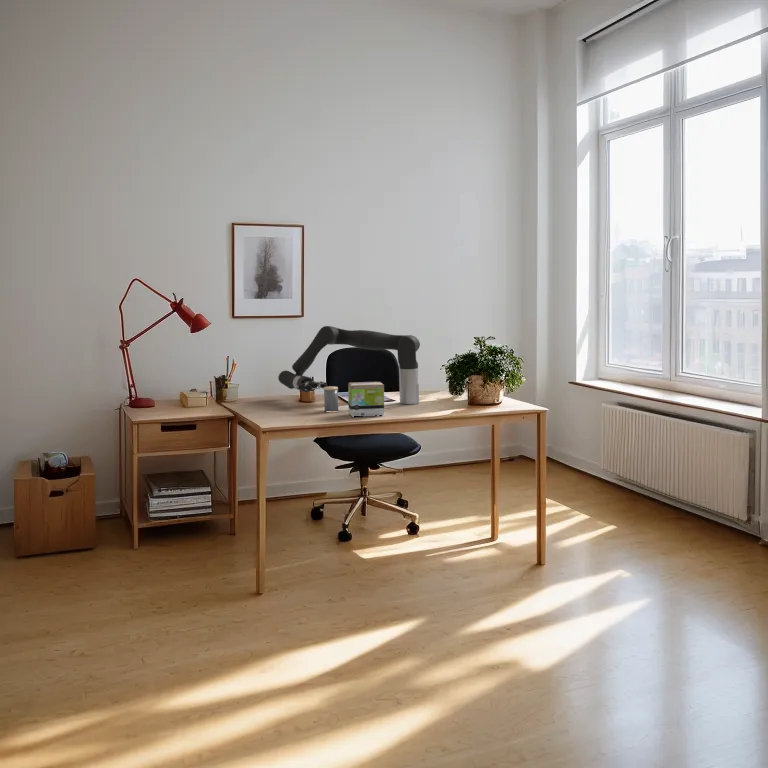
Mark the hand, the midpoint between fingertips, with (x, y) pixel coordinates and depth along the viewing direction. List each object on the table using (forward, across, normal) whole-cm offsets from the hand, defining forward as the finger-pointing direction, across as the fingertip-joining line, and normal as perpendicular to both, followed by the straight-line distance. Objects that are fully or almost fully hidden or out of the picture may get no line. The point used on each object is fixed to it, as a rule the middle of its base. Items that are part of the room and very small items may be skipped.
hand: (318, 387), depth 384 cm
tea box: (+30, +8, +10) cm, 33 cm away
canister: (+12, 0, +10) cm, 15 cm away
